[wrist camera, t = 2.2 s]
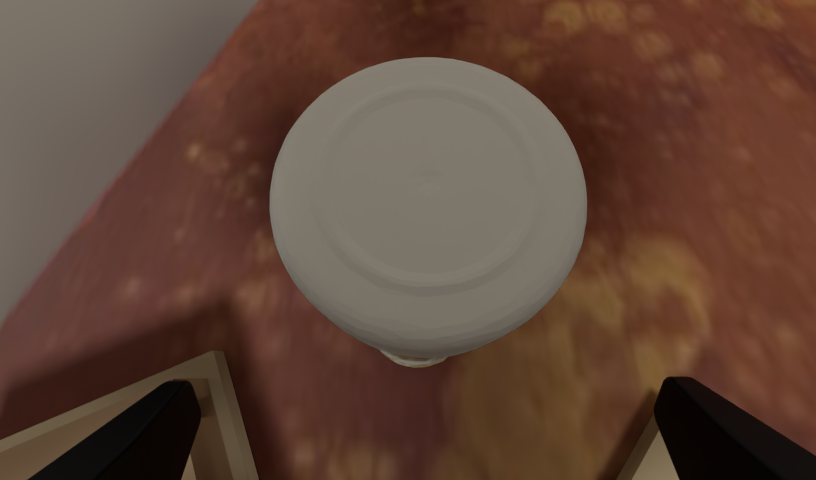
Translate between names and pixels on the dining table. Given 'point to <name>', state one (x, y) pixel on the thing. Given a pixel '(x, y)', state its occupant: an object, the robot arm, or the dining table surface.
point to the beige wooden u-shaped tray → (220, 415)
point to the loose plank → (649, 458)
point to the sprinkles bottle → (428, 207)
